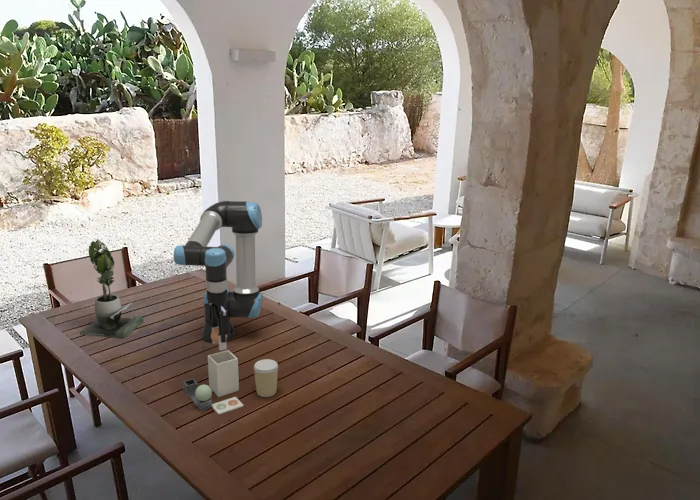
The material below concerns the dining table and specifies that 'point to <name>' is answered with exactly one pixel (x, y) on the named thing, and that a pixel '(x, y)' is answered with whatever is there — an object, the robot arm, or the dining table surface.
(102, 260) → the potted plant
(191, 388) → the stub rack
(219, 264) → the robot arm
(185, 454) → the dining table surface
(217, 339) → the ball terracotta
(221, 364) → the open square box
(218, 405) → the card
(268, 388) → the coffee cup
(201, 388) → the ball sage
